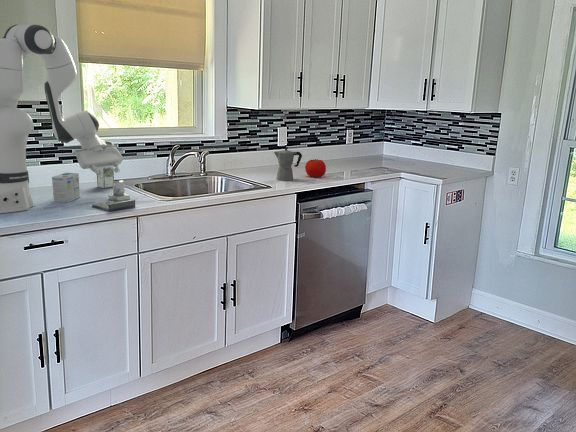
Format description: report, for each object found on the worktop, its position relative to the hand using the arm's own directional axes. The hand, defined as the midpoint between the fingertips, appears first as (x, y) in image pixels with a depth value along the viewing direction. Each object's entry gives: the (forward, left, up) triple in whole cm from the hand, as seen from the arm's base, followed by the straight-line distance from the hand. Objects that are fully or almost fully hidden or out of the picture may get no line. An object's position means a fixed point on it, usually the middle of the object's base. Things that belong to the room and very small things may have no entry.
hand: (108, 173), depth 233 cm
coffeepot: (+93, -29, -11) cm, 98 cm away
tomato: (+112, -35, -11) cm, 118 cm away
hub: (0, -7, -11) cm, 13 cm away
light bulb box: (-16, +7, -11) cm, 21 cm away
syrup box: (+11, +18, -11) cm, 23 cm away
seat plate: (-10, -17, -10) cm, 23 cm away
